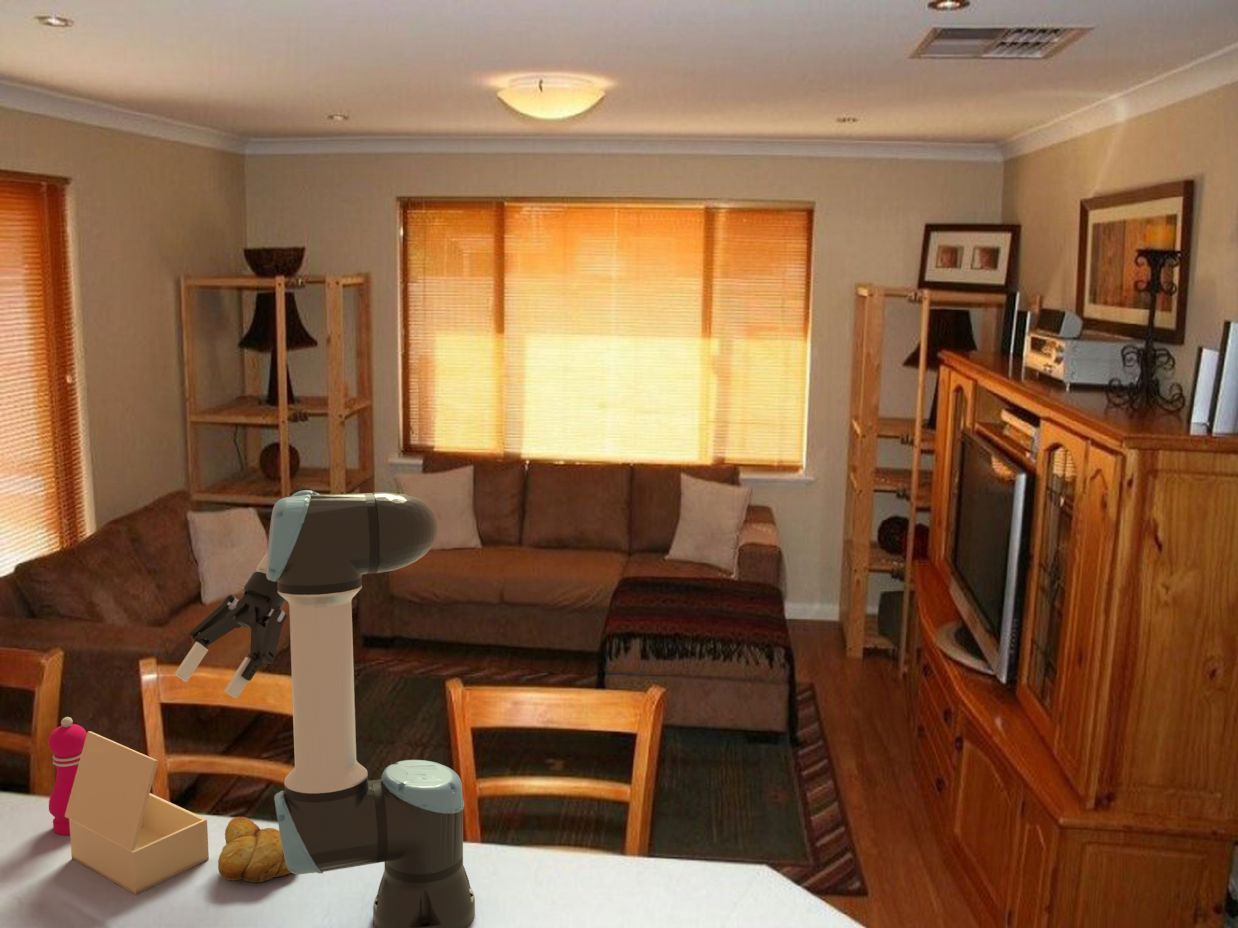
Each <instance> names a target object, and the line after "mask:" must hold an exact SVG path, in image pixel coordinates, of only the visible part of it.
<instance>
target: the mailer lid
mask: <svg viewBox="0 0 1238 928" xmlns="http://www.w3.org/2000/svg"><path fill="white" fill-rule="evenodd" d="M86 733H87V736H86V739H85V743H84V747H83V750H82V754H81V758H80V761H79V765H78V769H77V772H76V776H75V780H74V783H73V787H72V791H71V794H70V798H69V802H68V805H67V809H66V813H65V817H67V818H69V819H71V820H72V821H74V822H76V823H78V824H80V825H82V826H84V827H86V828H88V829H90V830H92V831H93V832H95V833H97V834H99V835H101V836H103V837H105V838H107V839H109V840H111V841H113V842H114V843H116V844H118V845H120V846H122V847H124V848H126V849H128V850H130V851H134V850H135V847H136V843H137V839H138V835H139V831H140V828H141V824H142V820H143V816H144V812H145V809H146V805H147V801H148V797H149V793H151V790H152V786H153V782H154V778H155V775H156V770H157V766H158V762H159V760H157V759H155V758H153V757H151V756H148V755H146V754H144V753H141V752H140V751H137V750H134V749H132V748H130V747H128V746H125V745H123V744H121V743H118V742H116V741H114V740H112V739H109V738H107V737H104V736H102V735H101V734H98V733H96V732H93V731H92V730H91V731H86Z"/></svg>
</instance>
